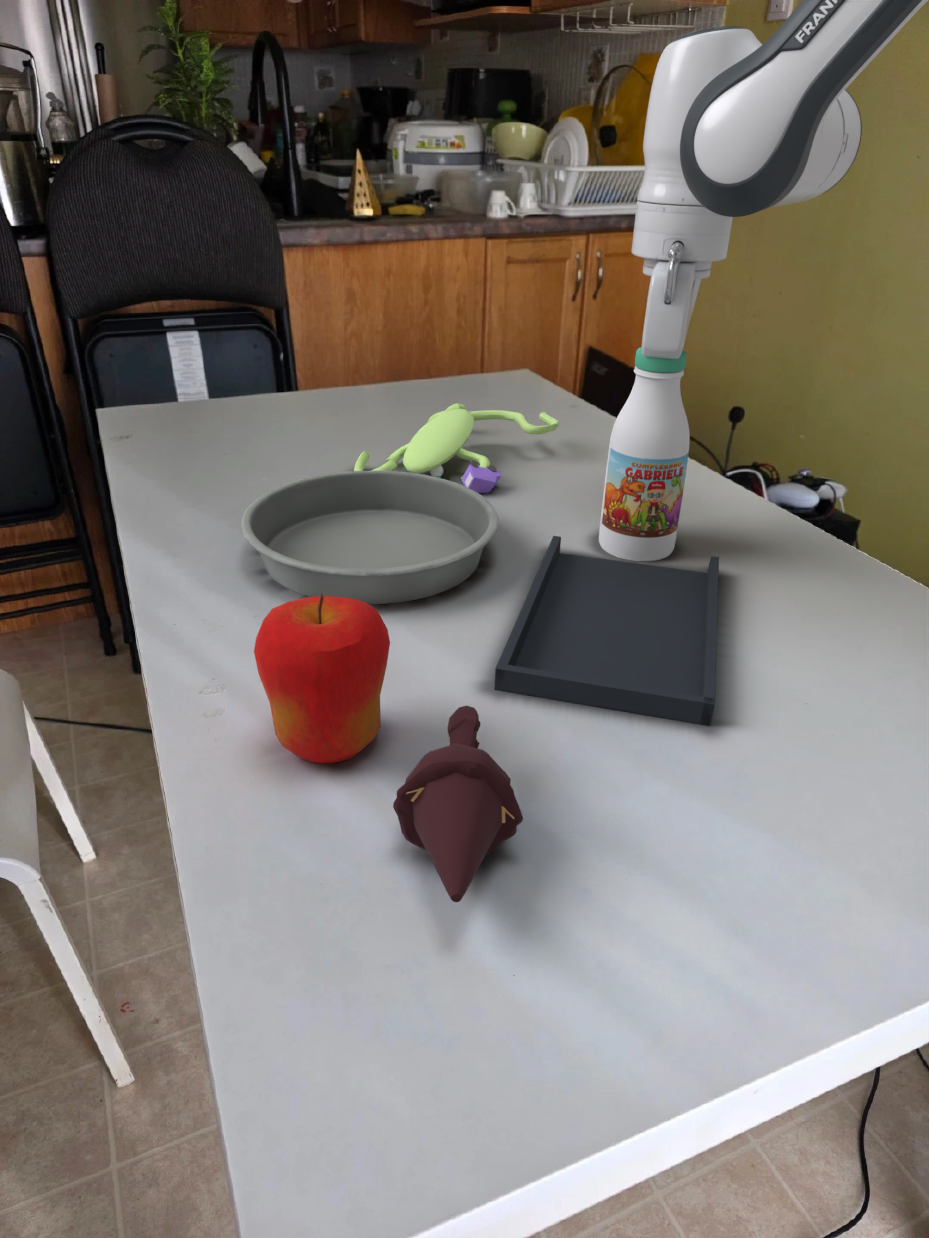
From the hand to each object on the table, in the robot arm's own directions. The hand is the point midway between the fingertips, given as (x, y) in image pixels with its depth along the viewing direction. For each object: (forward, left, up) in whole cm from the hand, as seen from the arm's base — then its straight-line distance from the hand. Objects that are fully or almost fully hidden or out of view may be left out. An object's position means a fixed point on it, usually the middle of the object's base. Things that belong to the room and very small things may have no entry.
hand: (661, 385), depth 89 cm
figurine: (+27, -3, -15) cm, 31 cm away
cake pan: (+18, +25, -15) cm, 34 cm away
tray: (-8, +23, -15) cm, 29 cm away
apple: (+1, +50, -15) cm, 52 cm away
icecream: (-12, +53, -15) cm, 56 cm away
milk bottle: (-2, +7, -15) cm, 17 cm away
